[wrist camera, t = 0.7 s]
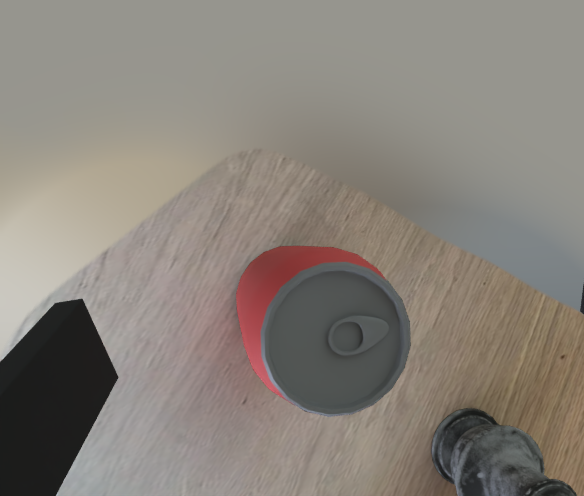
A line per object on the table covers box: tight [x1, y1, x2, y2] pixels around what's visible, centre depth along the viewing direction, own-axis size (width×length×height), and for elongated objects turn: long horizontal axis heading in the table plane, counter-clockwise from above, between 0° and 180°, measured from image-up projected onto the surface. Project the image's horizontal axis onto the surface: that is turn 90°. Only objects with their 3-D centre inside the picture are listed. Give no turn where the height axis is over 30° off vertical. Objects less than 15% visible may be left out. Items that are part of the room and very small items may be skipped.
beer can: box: [236, 246, 411, 417], centre depth 21 cm, size 7×7×12 cm
